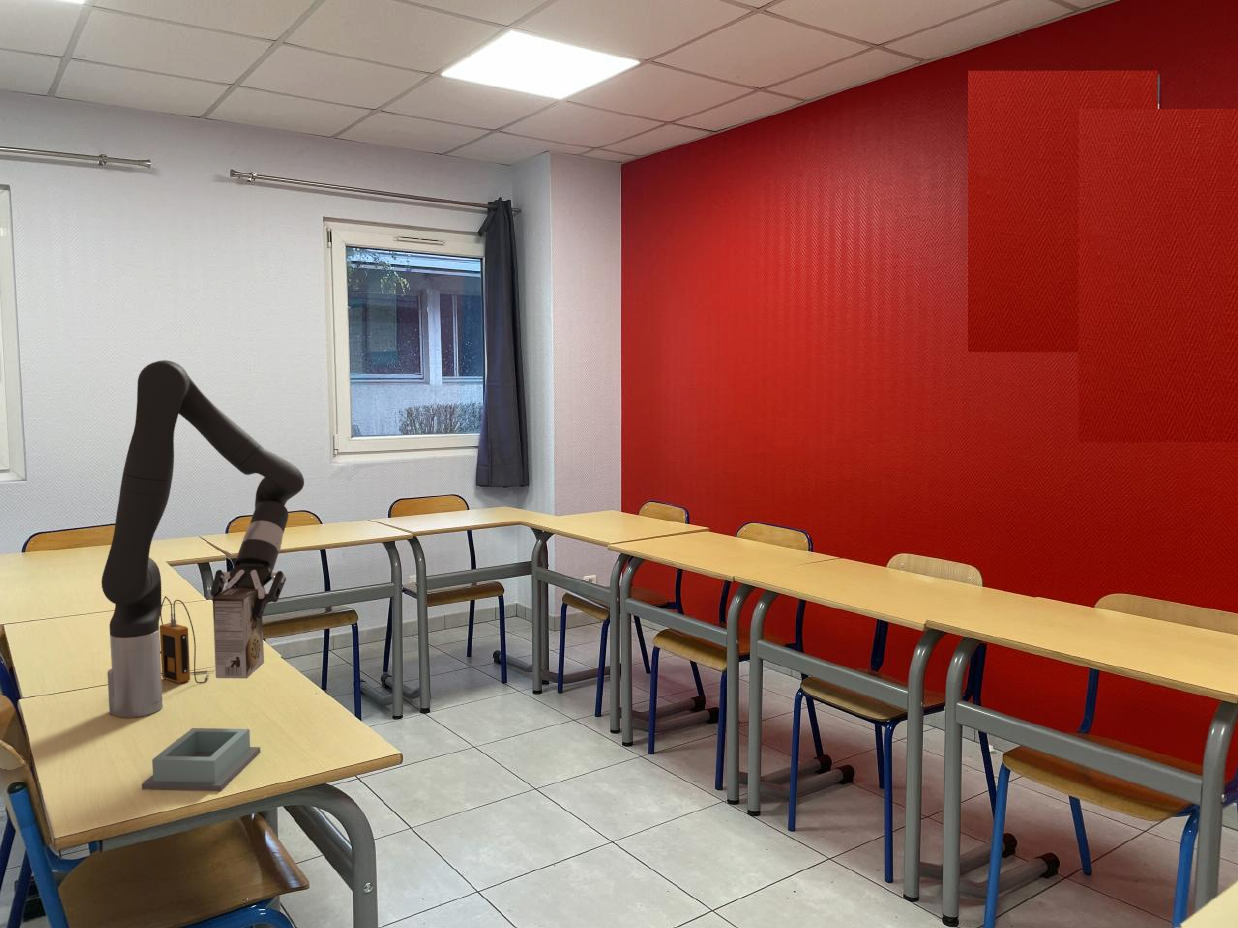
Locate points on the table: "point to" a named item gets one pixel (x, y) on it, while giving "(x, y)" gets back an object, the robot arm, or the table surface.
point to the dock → (202, 760)
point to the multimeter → (176, 650)
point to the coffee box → (237, 633)
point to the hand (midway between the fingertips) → (237, 618)
